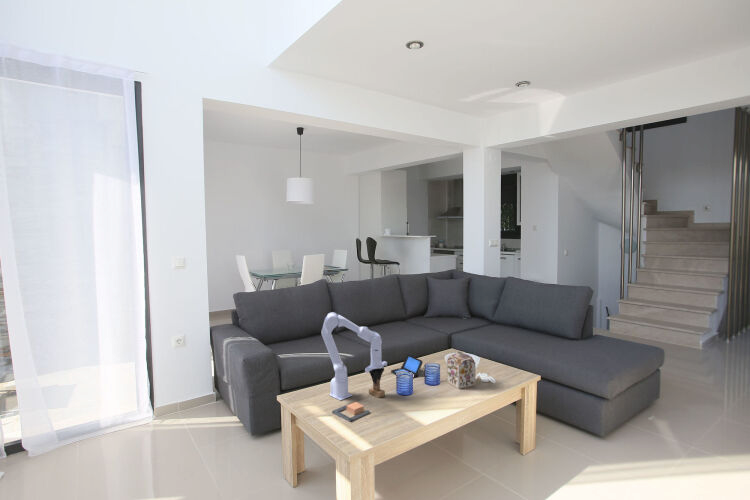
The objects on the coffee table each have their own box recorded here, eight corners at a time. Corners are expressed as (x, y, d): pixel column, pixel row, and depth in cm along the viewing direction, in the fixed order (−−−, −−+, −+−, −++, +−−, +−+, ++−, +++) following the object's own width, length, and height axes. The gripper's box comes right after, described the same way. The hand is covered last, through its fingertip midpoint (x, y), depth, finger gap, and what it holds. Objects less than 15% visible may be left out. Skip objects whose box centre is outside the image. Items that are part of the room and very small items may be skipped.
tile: (346, 411, 200) (346, 405, 200) (356, 407, 204) (356, 401, 204) (354, 415, 196) (354, 409, 196) (364, 411, 200) (364, 405, 200)
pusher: (368, 393, 220) (368, 379, 220) (374, 391, 223) (373, 377, 223) (379, 397, 215) (379, 382, 214) (384, 395, 217) (384, 380, 217)
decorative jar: (446, 382, 235) (446, 351, 234) (462, 378, 240) (463, 348, 239) (458, 389, 224) (458, 357, 223) (476, 386, 229) (476, 354, 228)
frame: (332, 412, 199) (332, 410, 198) (351, 404, 207) (351, 402, 207) (350, 421, 189) (350, 419, 189) (369, 412, 198) (369, 410, 198)
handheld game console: (389, 372, 252) (389, 357, 251) (407, 368, 259) (407, 353, 258) (405, 380, 238) (405, 365, 238) (423, 376, 245) (423, 360, 245)
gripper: (371, 361, 210) (371, 388, 211) (391, 355, 220) (391, 380, 221) (362, 358, 215) (362, 384, 216) (381, 352, 225) (381, 376, 226)
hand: (376, 382), depth 218 cm, fingers closed on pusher, 2 cm apart
